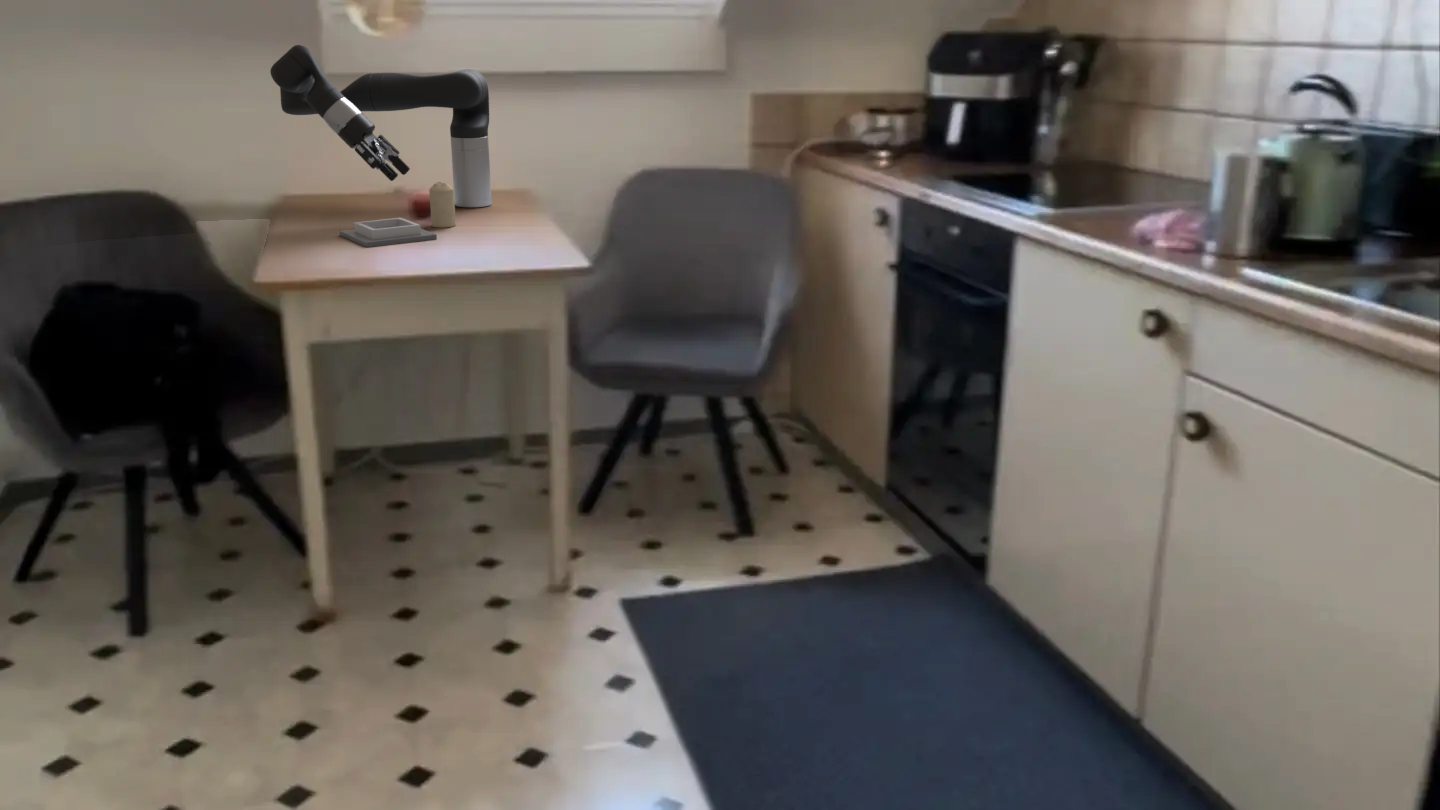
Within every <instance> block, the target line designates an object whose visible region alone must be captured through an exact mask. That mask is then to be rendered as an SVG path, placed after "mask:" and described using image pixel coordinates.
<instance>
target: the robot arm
mask: <svg viewBox="0 0 1440 810" xmlns="http://www.w3.org/2000/svg"><path fill="white" fill-rule="evenodd" d="M322 69H323V68H321V66H320V64H319V62H318V60H317V59H316V57H315V55H314V53H313V52H312V51H311V50H310V49H309V48H308V47H306V46H304V45H302V44H301V45H300V44H295V45H293V46H291V48H289V49H288V50H287V51H286V52H285V53H284V54H283V55H282V56H281V57H280V58H279V59H278V60H277V61H275V63H273V64H272V66H271V68H270V71H269V72H270V75H271V76H270V77H271V79H272V80H273V81H274V84H276V85H277V86H278V87H279V90H280V91H279V93H280V105H281V106H280V107H281V110H282V111H283V112H284V114H287V115H293V116H308V115H309V116H310V115H319V117H321V118H322V120H323V121H325V123H326V124H327V126H328V127H329V128H330V129H331V130H332V131H333V132H334V133H335V134H336V135H337V136H338V137H339V138H340V139H341V140H342V141H344V143H345V144H346V145H347V146H348V147H349V148H350V149H354V151H355V153H357V155H358V156H359V157H361V159H362V160H363V161H364V162H366V164H367V165H368V166H369V168H371V169H372V170H374V169H376V170H379V171H380V172H381V173H382V174H383V175H384V176H385V177H386V178H387V179H388V180H389V181H390V182H392V181H394V180H395V179H397V177H398V176H399V173H400V174H401V175H403V176H405V175H406V174H408V172H409V171H410V169H411V168H410V166H408V165H407V164H406V163H405V162H404V161H403V160H402V158H401V157H400V155H399V154H400V151H399V150H398V149H397V148H396V147H395V146H394V145H393V144H392V143H391V142H390V141H389V140H388V139H386V138H385V136H384V135H382V134H379V135H378V137H377V136H376V135H375V134H374V133H373V132H374V131H375V128H376V126H375V124H374V123H373V122H372V121H371V120H370V119H369V118H368V117H367V116H366V115H365V114H364V113H363V112H396V111H404V110H405V111H407V110H413V109H420V108H448V109H452V119H451V123H450V125H449V131H450V132H449V133H450V148H451V165H452V168H451V170H452V181H453V182H452V183H453V189H454V203H455V207H459V208H482V207H489V206H491V205H492V187H491V169H490V168H491V167H490V166H491V165H490V150H489V149H490V147H489V131H488V130H489V126H490V125H489V124H490V93H489V85H488V83H487V80H486V78H485V77H484V76H483V74H482V73H481V72H479V71H477V70H475V69H469V68H468V69H461V70H458V71H454V72H449V73H443V74H437V75H436V74H435V75H425V76H424V75H414V74H408V73H399V72H373V73H371V72H370V73H366V74H364V75H362V76H359V77H358V78H357V79H355V80H353V82H351V83H349V85H347V86H346V87H345V88H343V89H342V90H340V91H339V90H338V88H337V87H336V86H335V85H334V84H333V83H332V82H331V81H330V79H329V78H328V77H327V75H326V73H325V72H324V71H323V70H322ZM386 161H387V162H386ZM388 162H389V163H390V164H391V165H392V166H393V167H394V168H395V169H396V170H397V171H398V172H399V173H398V172H397V171H396V170H395V169H394V168H393V167H392V166H391V165H390V164H389V163H388Z"/></svg>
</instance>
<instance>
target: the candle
mask: <svg viewBox="0 0 1440 810" xmlns="http://www.w3.org/2000/svg"><path fill="white" fill-rule="evenodd" d="M428 190H429V191H428V192H429V205H430V206H429V207H430V221H431V222H430V223H431V227H433V228H440V229H441V228H443V229H444V228H452V227H455V226H456V225H457V224H456V223H457V221H456V220H457V219H456V206H455V202H454V187H452V186H451V185H450V184H448V183H447V182H442V181H437V182H434V183H433V184H432V185H431V186H430V188H429V189H428Z"/></svg>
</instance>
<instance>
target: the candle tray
mask: <svg viewBox="0 0 1440 810" xmlns="http://www.w3.org/2000/svg"><path fill="white" fill-rule="evenodd" d="M339 236H340V237H343V238H345V239H347V240H349V241H352V242H354V243H357V244H358V245H361V246H363V247H366V248H371V247H373V248H374V247H380V246H387V245H388V246H389V245H397V244H407V243H414V242H422V241H424V242H425V241H430V240H431V241H432V240H437V238H438V237H437V234H436V233H434V232H430V231H428V230H426V229H423V228H422V227H421V224H419V223H417V222H413V221H411V220H408V219H406V218H403V217H394V218H392V217H391V218H384V219H376V220H375V219H374V220H365V221H364V220H363V221H356V222H355V221H354V222H353V228H352V229H344V230H339Z"/></svg>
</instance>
